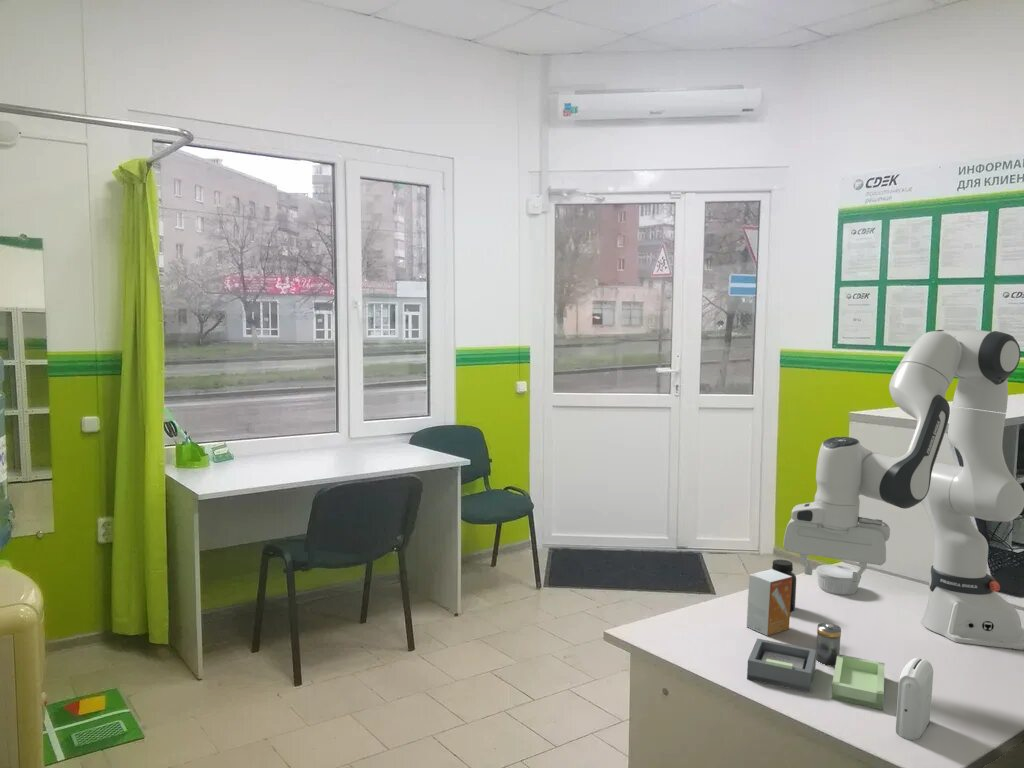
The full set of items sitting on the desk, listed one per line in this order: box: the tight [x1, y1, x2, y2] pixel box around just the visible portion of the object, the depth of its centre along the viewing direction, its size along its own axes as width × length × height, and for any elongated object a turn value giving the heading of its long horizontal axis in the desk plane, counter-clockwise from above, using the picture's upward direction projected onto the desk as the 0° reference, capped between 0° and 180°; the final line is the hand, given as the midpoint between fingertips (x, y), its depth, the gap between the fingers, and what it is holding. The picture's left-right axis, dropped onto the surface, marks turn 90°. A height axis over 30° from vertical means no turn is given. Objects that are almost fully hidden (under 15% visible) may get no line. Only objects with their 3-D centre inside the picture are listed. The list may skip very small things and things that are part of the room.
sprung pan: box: [762, 651, 805, 669], centre depth 161 cm, size 8×8×1 cm
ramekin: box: [815, 564, 862, 596], centre depth 212 cm, size 11×11×5 cm
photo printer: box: [895, 657, 934, 741], centre depth 141 cm, size 10×4×12 cm, turn 140°
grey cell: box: [815, 622, 842, 667], centre depth 167 cm, size 5×5×8 cm
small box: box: [746, 568, 792, 637], centre depth 184 cm, size 8×6×13 cm
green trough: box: [831, 653, 886, 711], centre depth 156 cm, size 9×15×3 cm, turn 154°
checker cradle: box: [746, 638, 817, 694], centre depth 161 cm, size 12×12×5 cm
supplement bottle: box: [771, 559, 797, 613], centre depth 197 cm, size 7×7×12 cm
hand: (831, 577), depth 166 cm, fingers open, 8 cm apart
